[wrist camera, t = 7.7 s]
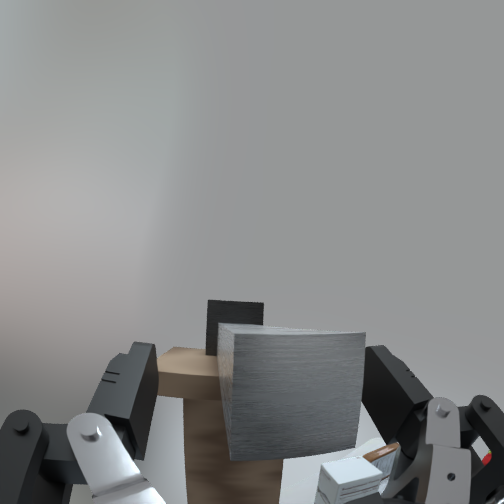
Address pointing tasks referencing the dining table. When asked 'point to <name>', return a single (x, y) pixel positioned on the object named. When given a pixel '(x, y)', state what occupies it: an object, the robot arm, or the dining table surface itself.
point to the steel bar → (284, 384)
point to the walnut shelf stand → (212, 435)
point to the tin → (383, 458)
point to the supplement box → (347, 480)
